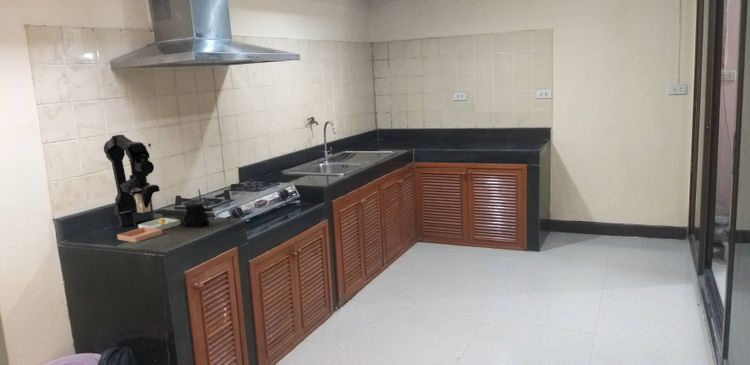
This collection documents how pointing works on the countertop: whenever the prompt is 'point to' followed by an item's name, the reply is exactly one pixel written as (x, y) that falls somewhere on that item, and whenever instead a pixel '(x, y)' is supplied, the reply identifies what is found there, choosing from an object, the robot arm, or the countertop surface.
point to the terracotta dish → (139, 234)
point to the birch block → (141, 204)
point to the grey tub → (156, 225)
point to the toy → (196, 216)
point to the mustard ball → (162, 221)
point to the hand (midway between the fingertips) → (143, 207)
